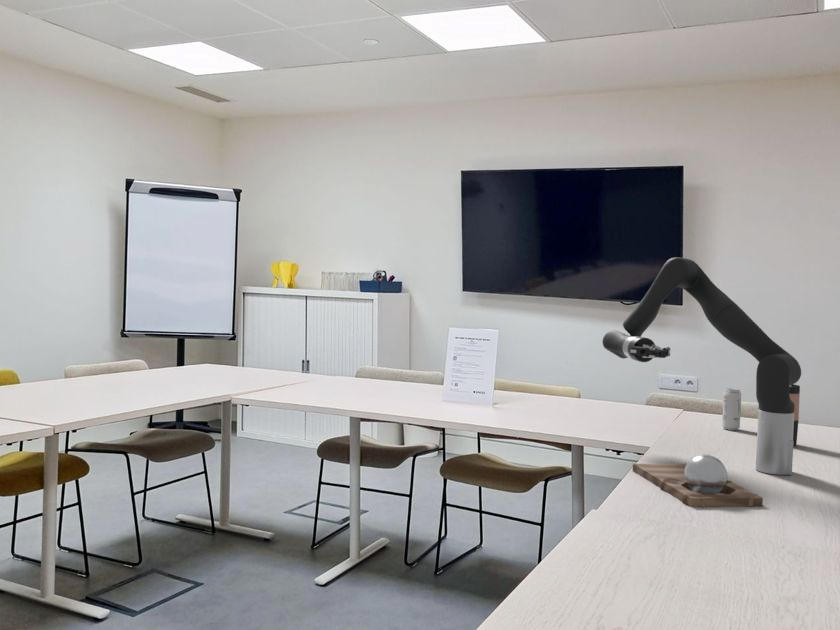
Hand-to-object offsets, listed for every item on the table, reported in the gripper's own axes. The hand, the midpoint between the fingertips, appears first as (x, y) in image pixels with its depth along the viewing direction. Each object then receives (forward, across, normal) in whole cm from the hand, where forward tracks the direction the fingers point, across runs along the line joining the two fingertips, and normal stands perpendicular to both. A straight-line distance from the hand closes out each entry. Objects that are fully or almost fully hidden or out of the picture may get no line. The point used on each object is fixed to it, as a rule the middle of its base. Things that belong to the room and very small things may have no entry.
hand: (663, 354), depth 221 cm
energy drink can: (-54, +52, +32) cm, 82 cm away
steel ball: (+32, -2, +27) cm, 42 cm away
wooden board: (+25, -2, +32) cm, 40 cm away
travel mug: (-28, +57, +32) cm, 71 cm away
